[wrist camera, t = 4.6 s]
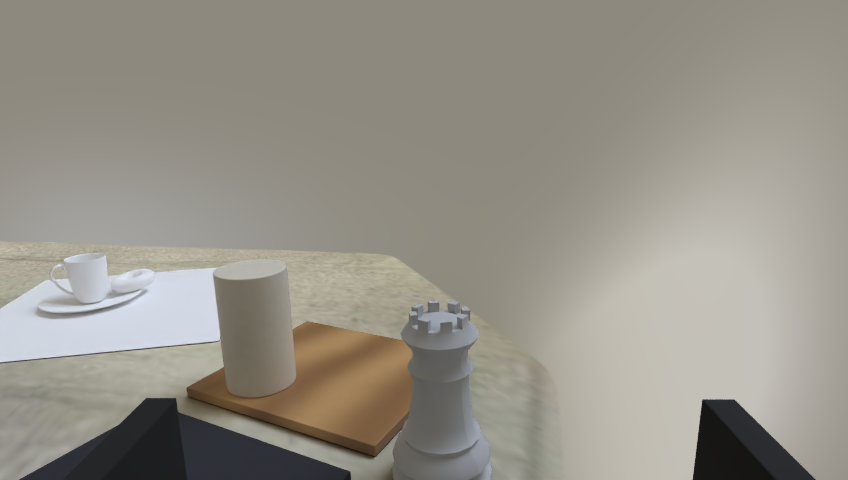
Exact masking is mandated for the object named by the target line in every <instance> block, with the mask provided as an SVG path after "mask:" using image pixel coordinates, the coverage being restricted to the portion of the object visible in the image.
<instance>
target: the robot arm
mask: <svg viewBox="0 0 848 480" xmlns="http://www.w3.org/2000/svg"><path fill="white" fill-rule="evenodd" d="M63 480H187V474H186V466H185V459H184V452H183V445H182V438H181V431H180V424H179V417H178V410H177V403H176V398H146V399H145V400H144V401H143V402H142V403H141V404H140V405H139V406H138V407H137V408H136V409H135V410H134V411H133V412H132V413H131V414H130V415H129V416H128V417H127V418H125V419H124V420H123V421H122V422H121V423H120V424H119V425H118V426H117V427H116V428H115V429H114V430H113V431H112V432H111V433H110V434H109V435H108V436H107V437H106V438H105V439H104V440H103V441H102V442H101V443H100V444H99V445H98V446H97V447H96V448H95V449H94V450H93V451H92V452H91V453H90V454H89V455H87V456H86V457H85V458H84V459H83V460H82V461H81V462H80V463H79V464H78V465H77V466H76V467H75V468H74V469H73V470H72V471H71V472H70V473H69V474H68V475H67V476H66V477H65V478H64V479H63ZM693 480H815V479H814V478H813V477H812V476H811V475H810V474H809V473H808V472H807V471H806V470H805V469H804V468H803V467H802V466H801V465H800V464H799V463H798V462H797V461H796V460H795V459H794V458H793V457H792V456H791V455H790V454H789V453H788V452H787V451H786V450H785V449H784V448H783V447H782V446H781V445H780V444H779V443H778V442H777V441H776V440H775V439H774V438H773V437H772V436H771V435H770V434H769V433H768V432H766V430H765V429H764V428H763V427H762V426H761V425H760V424H759V423H757V422H756V420H755V419H754V418H753V417H752V416H750V415H749V414H748V413H747V412H746V411H745V410H744V409H743V408H742V407H741V406H740V405H739V404H738V403H737V402H736V401H735V400H702V408H701V416H700V424H699V433H698V442H697V449H696V458H695V466H694V474H693Z"/></svg>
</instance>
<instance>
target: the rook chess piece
mask: <svg viewBox="0 0 848 480" xmlns="http://www.w3.org/2000/svg"><path fill="white" fill-rule="evenodd" d="M478 335H479V331H478V330H477V328H476V327H475V326H474V325H473V323H472V322H471V321H470V310H469V308H468V307H467V306H466V307H461V313H460V303H458V302H453V301H449V302H448V311H445V310H439V300H436V301H428V311H427V312H423V305H421V304H417V305H415V306H413V307H412V311H409V322H408V323H407V324H406V326H405V327H404V328H403V330H402V332H401V336H402V339H403V341H404V342H405V343H406V344H407V345H408V347H409V348H410V349H411V350H412V358H411V360H410V361H409V363H408V365H407V368H408V371H409V373H410V374H411V375H412V395H411V403H410V411H409V417H408V419H407V420H406V421H405V423H404V425H403V428H402V432H401V433H400V434H399V435H398V438H397V440H396V443H395V445H394V449H393V456H394V461H395V462H394V465H393V467H392V473H393V478H394V480H490V478H491V470H492V468H491V466H490V464H489V457H490V448H489V445H488V442H487V440H486V438H485V436H484V434H483V433H482V432H481V431H480V427H479V425H478V423H477V421H476V420H475V419H474V416H473V412H472V405H471V399H470V392H469V374H470V373H471V372H472V370H473V366H474V365H473V363H472V362H471V360H470V359H469V358H468V350H469V349H470V347H471V346H472V345H473V344H474V342H475V341H476V340H477V339H478Z"/></svg>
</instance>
